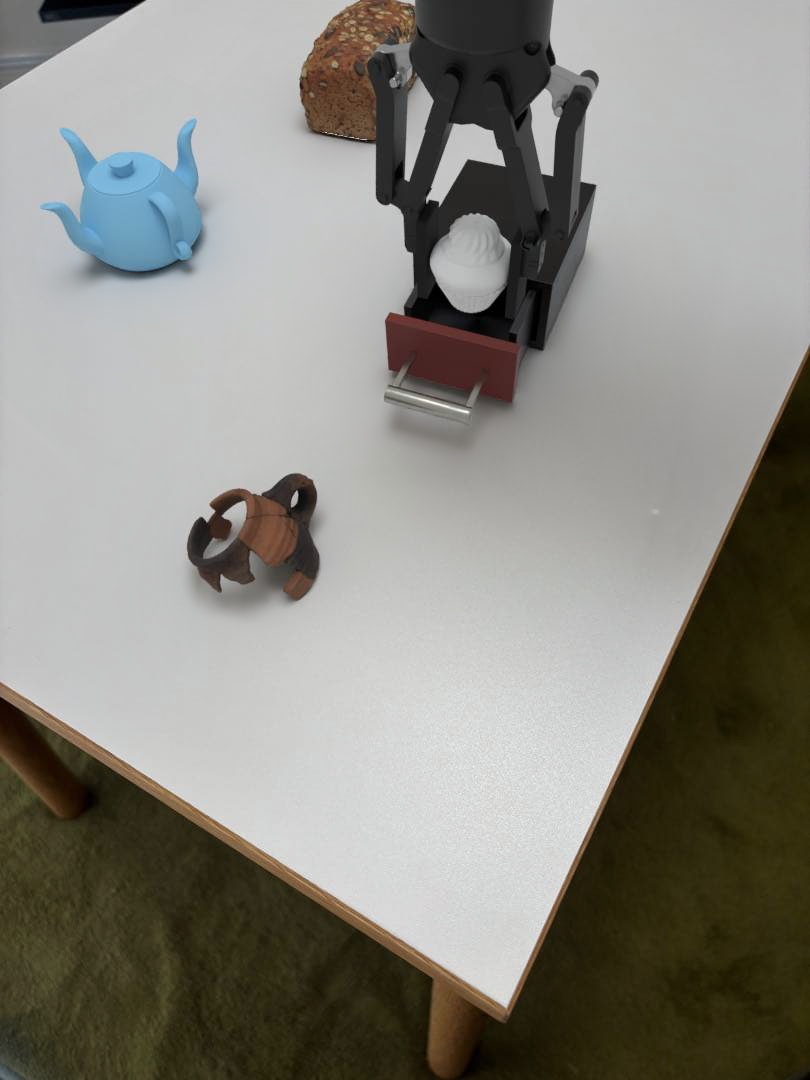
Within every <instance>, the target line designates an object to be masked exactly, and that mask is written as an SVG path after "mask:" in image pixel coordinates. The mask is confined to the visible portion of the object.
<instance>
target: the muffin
mask: <svg viewBox="0 0 810 1080" xmlns="http://www.w3.org/2000/svg"><path fill="white" fill-rule="evenodd" d="M510 252H511V244H510V243H509V242H508V241H507V240H506V239H505V238H504V237H503V236H502V235H501V234H500V230H499V228H498V227H497V224H496V223H495V221H494V220H492V219H491V218H489V217H488V216H486V215H480V214H479V213H477V214H475V215H473V214H472V213H470V214H469V215H468V216H467V215H463V216H462V217H461V218H458V219H456V220H455V222H454V224H452V225H451V226H450V232H449V234H447V235H445V236H444V237H442V238H441V239H440V240H439V241H438V242H437V243H436V245H435V246H434V248H433V250H432V252H431V256H430V266H431V270H432V272H433V274H434V276H435V278H436V282H437V283H438V285H439V287H440V288H441V290H442V291H443V293H444V294H445V295H446V297H447V298H448V300H449V301H450V303H451V304H452V305H453V306H454V307H455V308H457V309H458V310H460V311H464V312H468V313H474V312H475V313H477V312H481V311H482V310H483V311H484V310H485V309H487V308H488V307H489V306H490V305H491V304H492V303H493V302H494V300H495V299H496V298H497V297H498V296H499V294H500V293H501V292H502V291H503V289H504V288H505V286H506V285H507V284H508V274H509V263H510Z"/></svg>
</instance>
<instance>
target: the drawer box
mask: <svg viewBox="0 0 810 1080" xmlns="http://www.w3.org/2000/svg"><path fill="white" fill-rule="evenodd" d="M541 174H542V178H543V183H544V188H545V193H546V197H547V202H548V207H549V210H552V190H553V175H549V174H545V173H541ZM596 191H597V184H595V183H590V182H586V181H585V182H584V181H580V194H579V206H578V215H577V217H576V220H575V222H574V224H573V227H572V229H571V231H570V234H569V236H568V238H567V239H566V241H563V242H557V241H555V240H554V239H553V238H552V239H547V240H546V244H545V252H544V259H543V263H542V266H541V268H540V270H539V272H538V275H537V276H536V278H535V279H534V280H533V279H529V278H527V283H526V286H529V287H533V288H538V289H542V297H541V305H540V312H539V320H538V322H537V325H536V327H535V329H534V331H533V334H532V336H531V338H530V341H529V343H528V345H527V347H526V348H532V349H536V350H540V351H544V349H545V347H546V345H547V342H548V340H549V338H550V336H551V334H552V331H553V328H554V326H555V324H556V321H557V318H558V316H559V314H560V312H561V309H562V307H563V305H564V303H565V300H566V297H567V296H568V293H569V290H570V288H571V286H572V283H573V281H574V279H575V276H576V274H577V272H578V270H579V267H580V264H581V262H582V260H583V258H584V255H585V252H586V248H587V247H586V246H587V241H588V237H589V236H588V235H589V231H590V225H591V220H592V216H593V215H592V214H593V208H594V203H595V199H596ZM470 213H472V214H473V215H475V214H477V213H479V214H480V215H486V216H488V217H489V218H491V219H492V220H494V221H495V223H496V224H497V227H498V228H499V230H500V234H501V235H502V236H503V237H504V238H505V239H506V240H507V241H508V242H509V243H510V244H511V243H512V240H513V238H514V236H515V234H516V232H517V230H518V228H519V226H520V223H519V219H518V215H517V211H516V207H515V203H514V199H513V195H512V191H511V187H510V183H509V179H508V174H507V170H506V166H505V165H500V164H495V163H490V162H485V161H481V160H476V159H469V158H468V159H466V161H465V163H464V165H463V166H462V167H461V169H460V171H459V173H458V175H457V176H456V178H455V180H454V182H453V183H452V185H451V186H450V188H449V190H448V191H447V193H446V195H445V197H444V198H443V200H442V202H441V204H439V240H440V239H441V238H442V237H444V236H445V235H447V234H449V232H450V226H451V225H452V224H454V222H455V220H456V219H458V218H461V217H462V216H463V215H467V216H468V215H469V214H470ZM412 269H413V271H412V273H413V288H414V287H415V285H416V283H417V254H415V253H412Z"/></svg>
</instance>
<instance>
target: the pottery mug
mask: <svg viewBox="0 0 810 1080" xmlns="http://www.w3.org/2000/svg"><path fill="white" fill-rule="evenodd" d="M296 492H297V501H296V502H295V504H294V505H293V506H292V500H293V497H294V495H295V494H296ZM242 502H245V506H246V514H245V519H244V522H243V525H242V527H241V529H240V530H239V533H238V534H237V535H236V538H235V539H234V540H233V541H232V542H231V543H230V544H228V546H227V547H225V549H223V550H222V551H220V552H219V553H218V554H215V555H214V556H211V557H208V558H207V557H204V555H205V552H206V550H207V548H208V547H209V545H210V543H211V542H212V541H213V539H216V540H226V539H227V538H228V536H229V534H230V532H231V530H232V528H233V523H232V521H231V520H229V519H227V518H225V517H224V514H225V513H226V512H228V511H229V510H230V509H231V508H233V507H234V506H236V505H237V504H239V503H242ZM317 502H318V490H317V488H316V485H315V483H314V480H313V479H312V478H309V477H308V476H307V475H305V474H302V473H301V472H300V473H298V472H294V473H288V474H286V475H285V476H283V477H282V478H280V479H279V480H278V481H277V482H276V483H275V484H274V485H273V486H272V487H271V488H270V489H268V490H266V491H262V492H261V495H260V494H258V493H252V492H251V491H249V490H248V489H246V488H238V487H237V488H232V489H229V490H226V491H225V492H223V493H221V494H219V495H218V496H216V497H215V498H214V499H213V500H211V502H210V503H209V505H208V506H209V507H210V508H211V509H212V510H214V513H212V515H211V516H210V518H209V519H208V521H207V520H206V519H205V518H204V517H203V516H199V517H198V518H197V519H196V520H195V521H194V523H193V524H192V526H191V529H190V530H189V534H188V537H187V541H186V551H187V558H188V560H189V562H190V563H191V564H192V565H193V566H194V567H197V571H198V574H199V577H200V578H201V579H202V580H204V581H205V582H206V584H208V585H209V586H210V587H211V589H213V590H214V591H216V592H217V593H219V594H220V593H222V592H223V588H222V586H221V576H222V577H223V578H224V579H226V580H228V581H231V582H236V583H238V584H240V585H241V586H242V585H243V586H244V585H248V584H251V583H253V582H255V580H256V577H255V575H254V574H253V572H252V571H251V563H250V556H251V551H252V552H253V554H255V555H256V556H257V557H258V558H260V560H262V561H263V563H264V564H265V565H266V566H270V567H278V566H280V565H281V564H282V563H284V564H285V565H287V566H290V567H292V568H293V570H294V571H293V573H292V575H291V576H290V578H289V580H288V581H287V582H286V583H285V584H284V585H283V586H282V590H283V592H284V594H286V595H288V596H290V597H291V598H293V599H294V600H295V601H298V600H300V599H301V598H302V597H303V596H304V595H305V594H306V593H307V592H308V591H309V589H310V588H311V585H312V584H313V582H314V580H315V578H316V577H317V573H318V571H319V568H320V567H319V565H320V553H319V551H318V548H317V546H316V545H315V542H314V540H313V537H312V535H311V533H310V530H309V528H310V522H311V519H312V517H313V515H314V513H315V510H316V506H317Z"/></svg>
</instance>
